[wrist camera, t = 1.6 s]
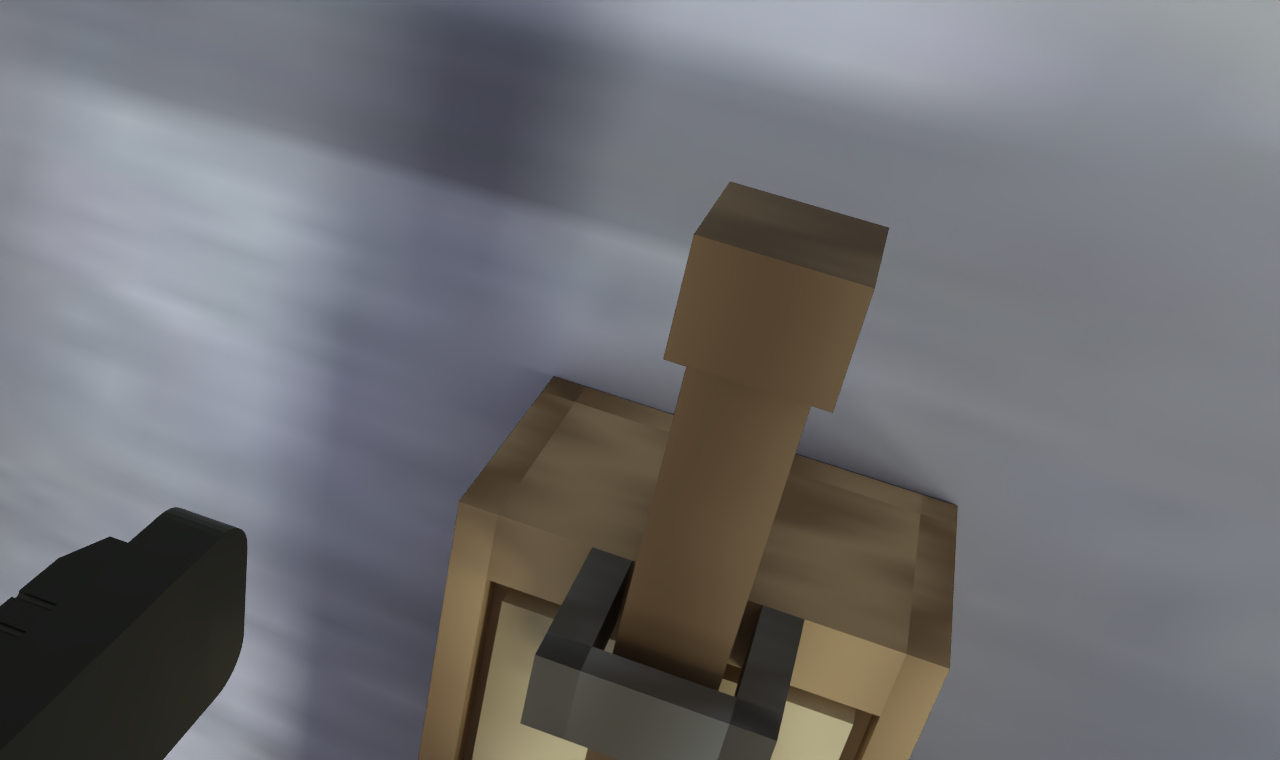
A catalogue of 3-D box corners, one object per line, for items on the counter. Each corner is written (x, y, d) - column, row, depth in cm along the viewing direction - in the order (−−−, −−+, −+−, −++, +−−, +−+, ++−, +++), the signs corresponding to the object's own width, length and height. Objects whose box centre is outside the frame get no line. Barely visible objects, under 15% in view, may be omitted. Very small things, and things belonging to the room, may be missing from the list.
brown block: (889, 227, 22) (874, 287, 20) (718, 738, 29) (689, 837, 26) (729, 181, 23) (694, 234, 20) (598, 695, 30) (557, 788, 27)
